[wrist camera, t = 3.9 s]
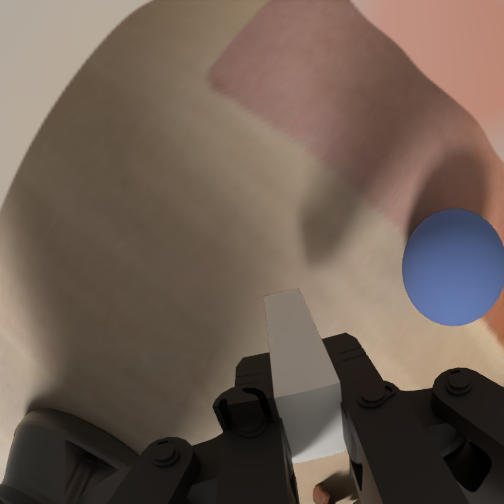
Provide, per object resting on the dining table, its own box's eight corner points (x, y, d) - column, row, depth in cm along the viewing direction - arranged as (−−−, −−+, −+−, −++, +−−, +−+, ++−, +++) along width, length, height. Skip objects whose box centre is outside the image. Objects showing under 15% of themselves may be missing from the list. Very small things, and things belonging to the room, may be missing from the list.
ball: (387, 313, 16) (439, 364, 10) (377, 214, 15) (440, 230, 9) (462, 287, 16) (521, 320, 10) (457, 196, 15) (526, 205, 9)
